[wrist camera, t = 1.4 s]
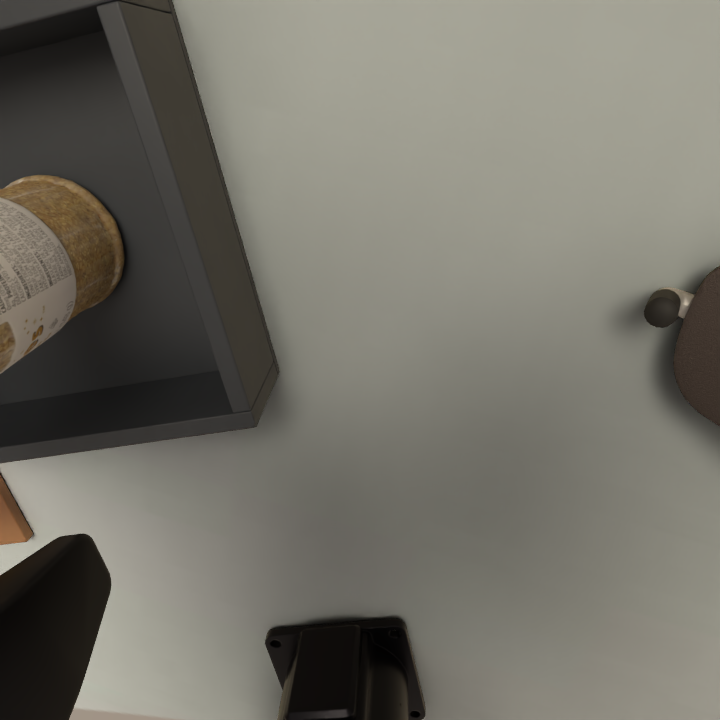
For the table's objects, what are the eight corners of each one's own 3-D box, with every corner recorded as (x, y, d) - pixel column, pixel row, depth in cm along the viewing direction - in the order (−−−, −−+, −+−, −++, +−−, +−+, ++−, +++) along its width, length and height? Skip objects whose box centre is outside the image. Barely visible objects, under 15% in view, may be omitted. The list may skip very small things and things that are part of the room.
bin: (280, 372, 22) (256, 427, 18) (-4, 416, 24) (-74, 474, 20) (169, -11, 17) (108, -31, 13) (-182, 82, 19) (-314, 84, 15)
